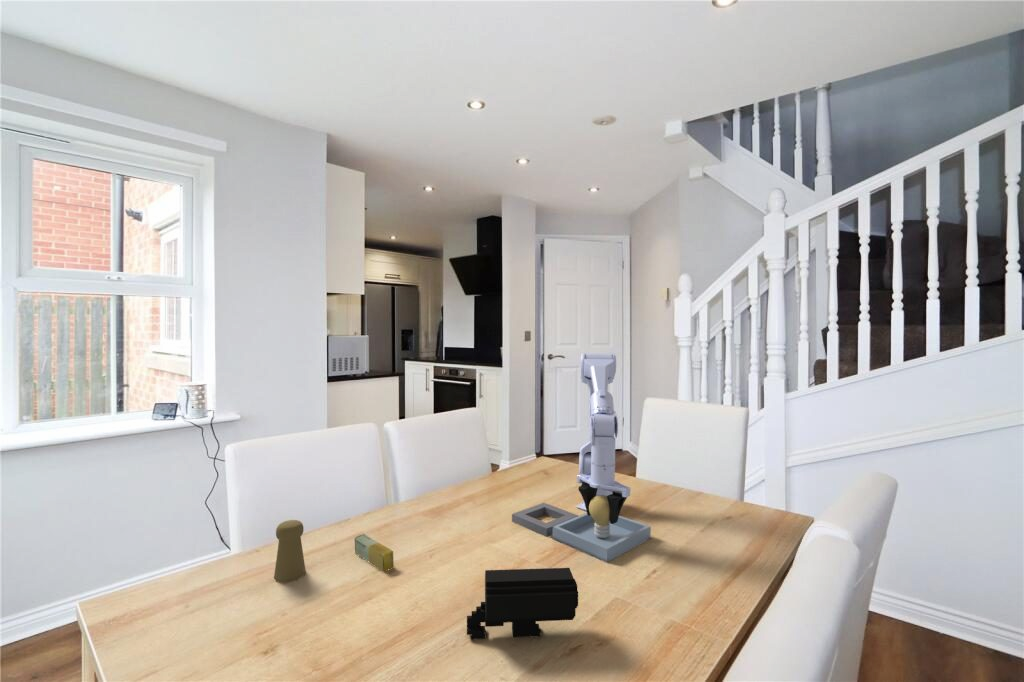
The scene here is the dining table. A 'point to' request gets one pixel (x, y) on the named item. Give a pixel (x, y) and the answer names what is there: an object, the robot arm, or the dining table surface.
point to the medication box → (374, 552)
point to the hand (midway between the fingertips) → (602, 518)
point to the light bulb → (600, 515)
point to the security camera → (524, 600)
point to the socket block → (529, 515)
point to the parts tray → (583, 538)
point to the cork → (289, 552)
